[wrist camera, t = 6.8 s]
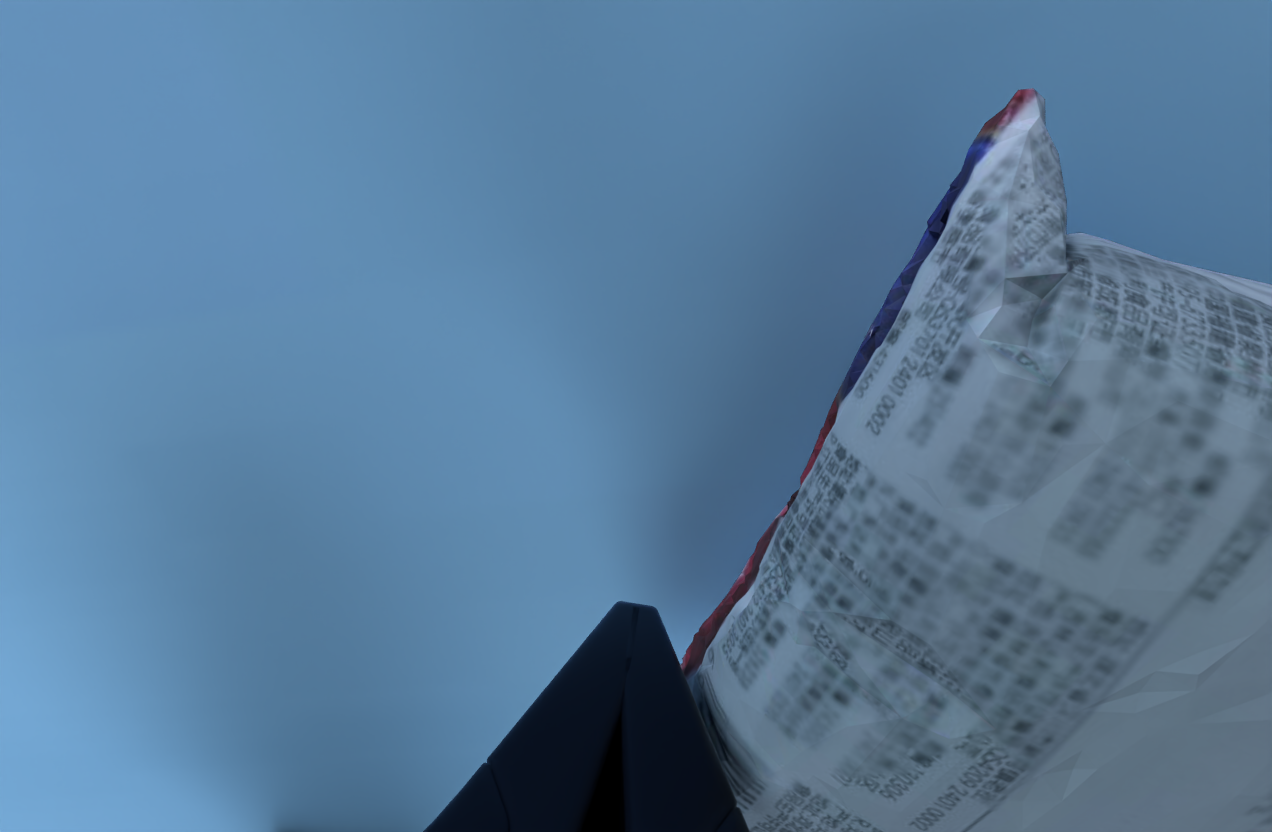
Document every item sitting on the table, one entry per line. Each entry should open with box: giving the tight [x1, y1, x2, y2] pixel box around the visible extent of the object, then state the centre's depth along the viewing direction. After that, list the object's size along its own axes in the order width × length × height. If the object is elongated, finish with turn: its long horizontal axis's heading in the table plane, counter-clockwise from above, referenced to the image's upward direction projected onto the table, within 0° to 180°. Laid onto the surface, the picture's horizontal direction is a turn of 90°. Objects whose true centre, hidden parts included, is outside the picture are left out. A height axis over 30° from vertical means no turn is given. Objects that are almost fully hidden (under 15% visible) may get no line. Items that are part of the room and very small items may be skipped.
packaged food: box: [680, 88, 1272, 832], centre depth 9 cm, size 9×12×5 cm
